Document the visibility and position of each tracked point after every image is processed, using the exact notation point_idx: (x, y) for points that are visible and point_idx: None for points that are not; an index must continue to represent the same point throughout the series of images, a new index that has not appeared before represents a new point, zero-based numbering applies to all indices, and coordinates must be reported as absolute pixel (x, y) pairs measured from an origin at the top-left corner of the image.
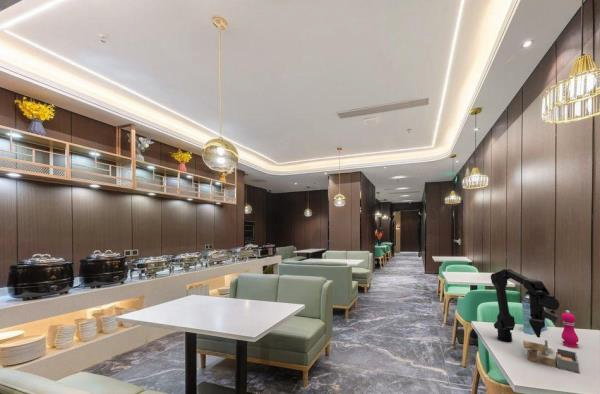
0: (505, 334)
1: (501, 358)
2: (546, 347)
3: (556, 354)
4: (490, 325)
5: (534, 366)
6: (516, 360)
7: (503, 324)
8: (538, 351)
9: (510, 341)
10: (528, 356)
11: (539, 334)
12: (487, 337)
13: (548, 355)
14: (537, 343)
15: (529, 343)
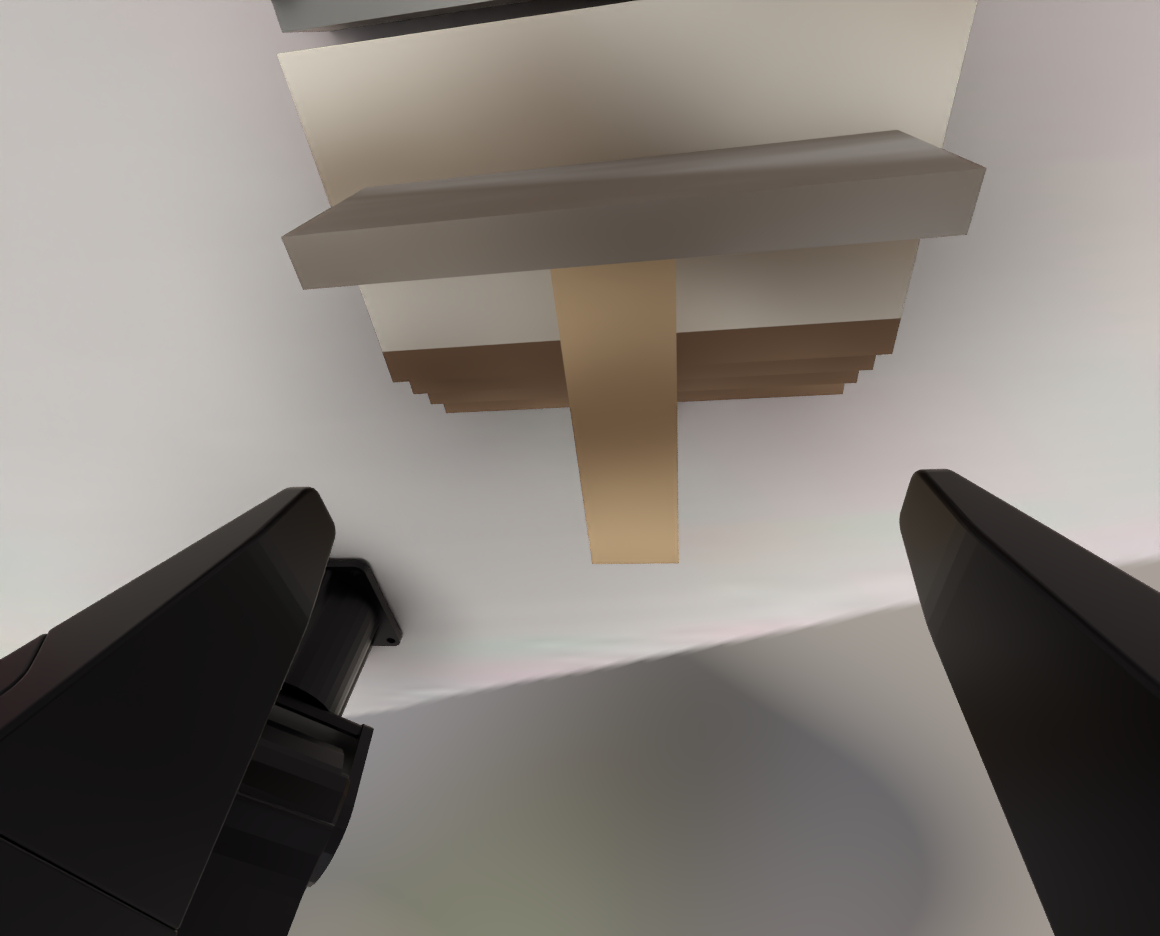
0: (338, 656)
1: None
2: (932, 196)
3: (424, 2)
4: None
5: (1048, 285)
6: None
7: (335, 813)
8: (699, 313)
9: (350, 567)
10: (756, 390)
11: (1064, 563)
12: (419, 686)
13: (824, 128)
14: (576, 386)
15: (677, 488)
